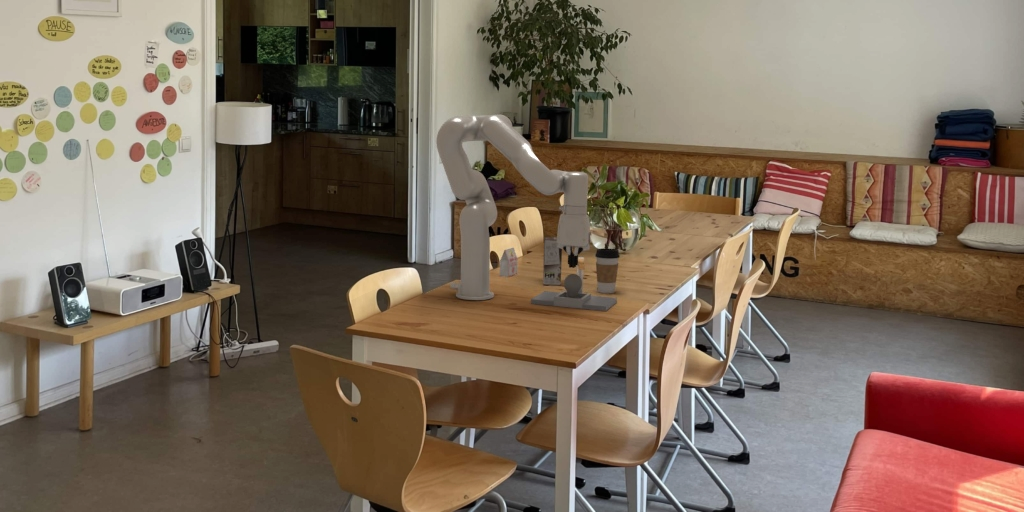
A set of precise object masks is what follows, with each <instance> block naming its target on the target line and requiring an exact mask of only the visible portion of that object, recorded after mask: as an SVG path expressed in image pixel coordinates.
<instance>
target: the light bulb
mask: <svg viewBox="0 0 1024 512" xmlns="http://www.w3.org/2000/svg"><path fill="white" fill-rule="evenodd" d="M563 287H564V288H565V291H567V294H568V298H577V296H578V292H579V290H580V289H581V287H582V280H581V278H580V277H579V276H578V275H577V273H570V274H568V275H567V276H566V277H565V278H564V280H563Z"/></svg>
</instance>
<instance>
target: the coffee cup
mask: <svg viewBox="0 0 1024 512" xmlns="http://www.w3.org/2000/svg"><path fill="white" fill-rule="evenodd" d="M595 258H596V262H595V267H596V283H597V284H596V285H597V292H598V293H601V294H614V293H615V291H616V283H617V278H618V277H617V276H618V269H619V258H620V253H619V249H615V248H604V247H603V248H598V249H596V252H595Z"/></svg>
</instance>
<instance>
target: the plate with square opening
mask: <svg viewBox="0 0 1024 512" xmlns="http://www.w3.org/2000/svg"><path fill="white" fill-rule="evenodd" d="M576 275H578V276H579V277H580V278H581V280H582V287H581V289H580V290H579V292H578V296H577V298H568V294H567V291H566V290H564V291H561V292H558V291H548V290H544V291H542V292H541V293H539V294H537V295H536V296H534V297H532V298H531V299H530V304H531V305H537V306H538V305H539V306H540V305H541V306H548V307H550V306H552V307H561V308H572V309H581V310H588V309H589V310H590V311H600V312H607V311H608V310H609V309H611V308H612V307H613V306H614V305H615V304H617V302H618V299H617V297H612V296H611V297H610V296H601V295H600V296H599V295H592V293H587V292H586V293H585V292H584V291H583V288H584V286H583V285H584V270H579V268H578V265H576Z"/></svg>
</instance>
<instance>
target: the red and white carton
mask: <svg viewBox="0 0 1024 512" xmlns="http://www.w3.org/2000/svg"><path fill="white" fill-rule="evenodd" d="M518 260H519V258H518V256H517V254H516V250H515V248H514V247H510V248H506V249H504V250H503V253H502V255H501V257H500V260H499V277H503V276H505V277H504V278H511V277H513V276H516V275H515V274H517V275H518V263H519V262H518ZM512 275H513V276H512Z"/></svg>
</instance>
